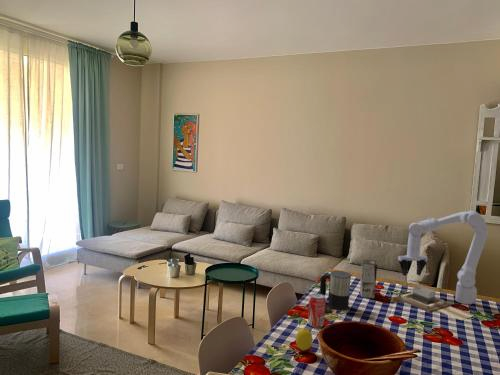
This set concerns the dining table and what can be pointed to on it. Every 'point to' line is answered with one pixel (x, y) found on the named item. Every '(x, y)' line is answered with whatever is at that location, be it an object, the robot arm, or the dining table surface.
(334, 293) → the milk frother
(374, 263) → the coffee box
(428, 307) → the square wooden tray
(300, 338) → the lemon
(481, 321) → the dining table surface
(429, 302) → the housing
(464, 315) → the stand
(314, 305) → the soda can
